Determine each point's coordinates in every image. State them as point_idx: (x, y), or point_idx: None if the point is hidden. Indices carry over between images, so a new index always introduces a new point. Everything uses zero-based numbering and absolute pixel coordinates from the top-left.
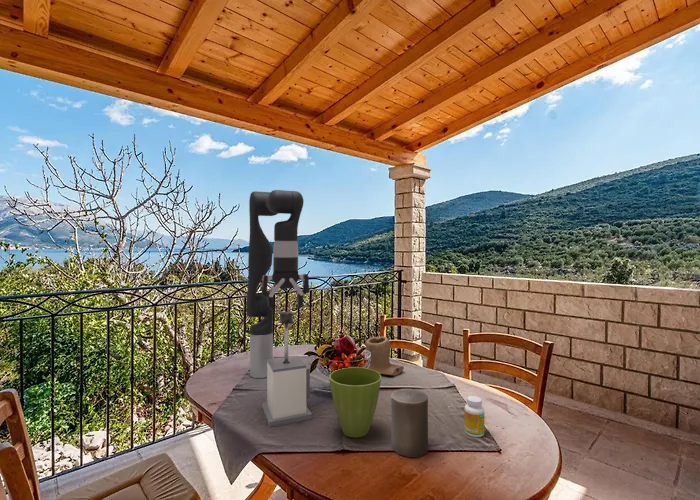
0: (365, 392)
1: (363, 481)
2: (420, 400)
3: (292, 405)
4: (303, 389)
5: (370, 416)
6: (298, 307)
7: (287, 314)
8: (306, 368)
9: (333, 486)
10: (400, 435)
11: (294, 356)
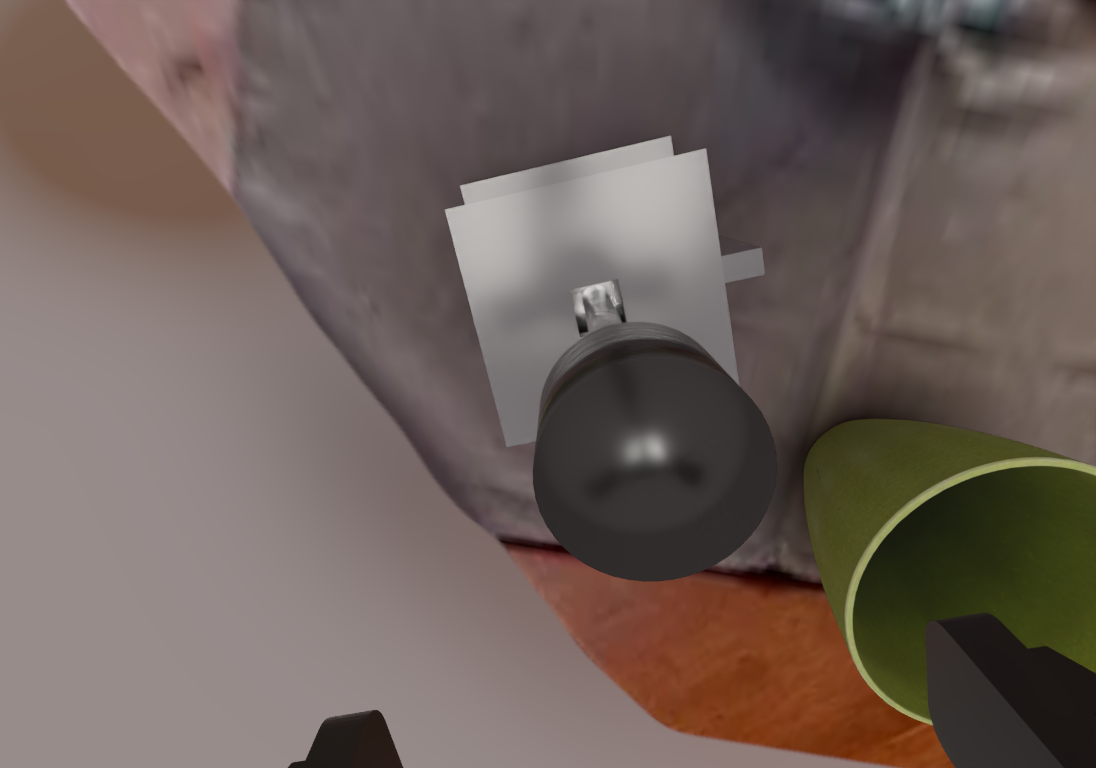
0: None
1: (787, 709)
2: None
3: None
4: None
5: (940, 570)
6: (928, 696)
7: (668, 576)
8: (742, 267)
9: (702, 712)
10: None
11: (673, 162)
